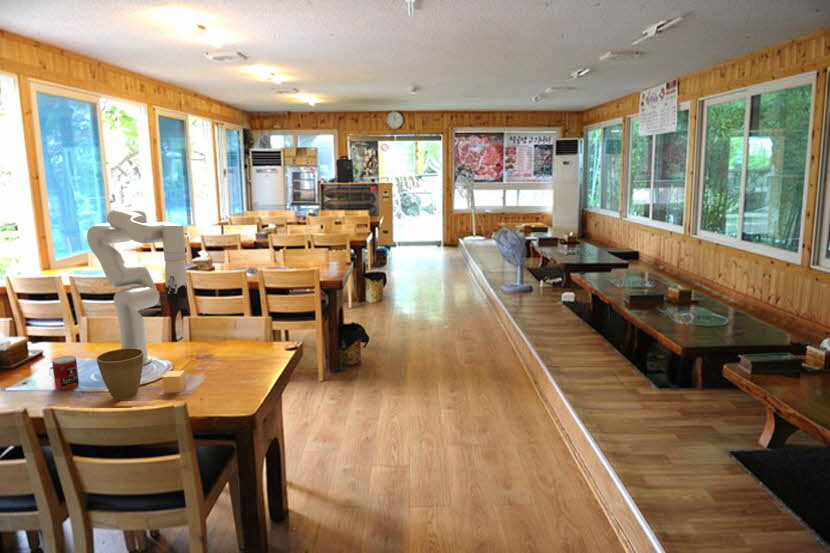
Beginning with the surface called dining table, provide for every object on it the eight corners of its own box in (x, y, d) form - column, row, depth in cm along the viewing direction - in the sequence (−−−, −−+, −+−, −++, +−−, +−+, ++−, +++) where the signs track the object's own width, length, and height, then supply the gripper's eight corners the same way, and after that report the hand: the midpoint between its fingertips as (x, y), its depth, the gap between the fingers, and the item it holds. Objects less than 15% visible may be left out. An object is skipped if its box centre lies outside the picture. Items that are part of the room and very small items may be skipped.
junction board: (157, 399, 209) (155, 383, 208) (176, 378, 229) (175, 364, 228) (191, 398, 210) (190, 382, 209) (208, 378, 229) (207, 363, 228)
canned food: (62, 392, 215) (59, 363, 213) (51, 388, 220) (47, 360, 218) (83, 385, 222) (80, 357, 220) (72, 381, 226) (68, 354, 224)
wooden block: (163, 392, 211) (162, 376, 210) (169, 386, 217) (168, 371, 216) (180, 392, 211) (179, 376, 210) (186, 386, 217) (184, 370, 216)
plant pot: (123, 387, 220) (118, 346, 217) (156, 392, 216) (152, 350, 213) (90, 403, 206) (85, 359, 203) (125, 408, 202) (121, 363, 199)
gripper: (172, 253, 231) (176, 296, 234) (156, 260, 214) (160, 306, 217) (192, 253, 232) (195, 295, 235) (177, 260, 215) (180, 305, 218)
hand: (178, 300), depth 226 cm, fingers open, 9 cm apart
